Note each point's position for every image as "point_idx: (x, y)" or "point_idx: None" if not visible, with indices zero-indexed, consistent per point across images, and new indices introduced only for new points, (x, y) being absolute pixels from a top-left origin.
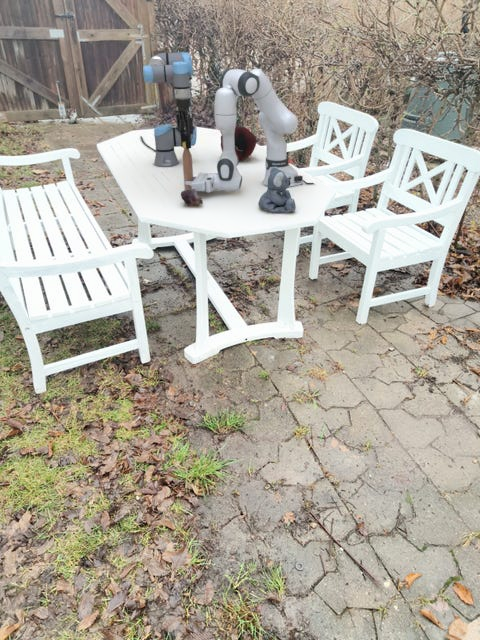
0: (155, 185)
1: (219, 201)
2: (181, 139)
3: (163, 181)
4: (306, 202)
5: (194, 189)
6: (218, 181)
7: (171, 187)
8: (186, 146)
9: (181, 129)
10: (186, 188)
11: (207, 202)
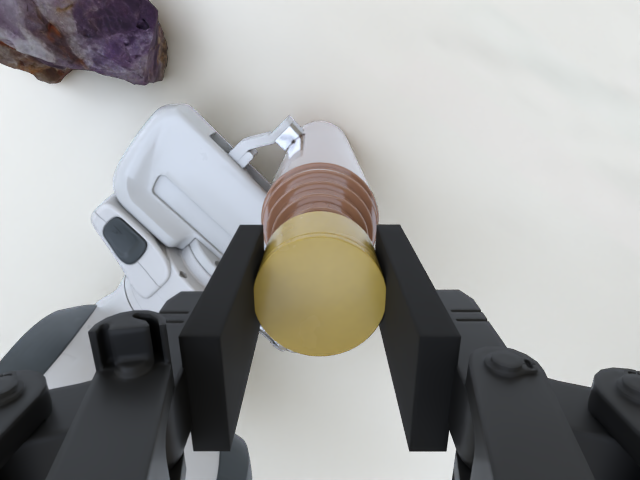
0: (616, 43)
1: (73, 203)
2: (402, 275)
3: (637, 139)
4: None
5: (13, 33)
6: (117, 290)
7: (491, 113)
8: (238, 237)
9: (479, 458)
10: (307, 126)
11: (93, 137)
